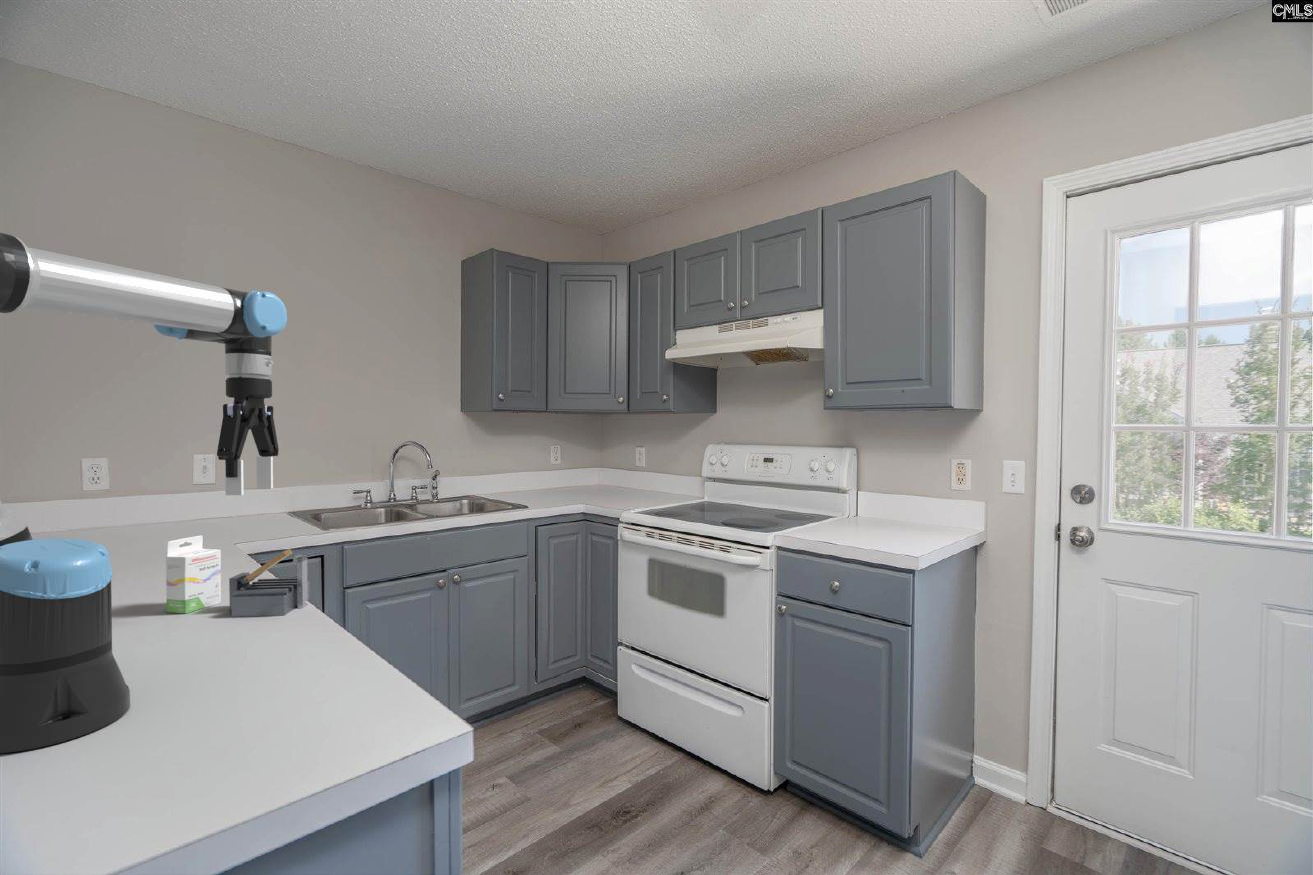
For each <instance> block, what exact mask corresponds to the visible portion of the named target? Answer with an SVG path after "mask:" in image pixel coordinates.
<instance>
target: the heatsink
mask: <svg viewBox="0 0 1313 875" xmlns="http://www.w3.org/2000/svg"><path fill="white" fill-rule="evenodd" d="M292 562H293V563H296V566H297V568H296V569H297V571H296V572H297V575H296V576H297V577H283V578H282V577H281V578H277V577H276V578H258V579H257V581H255V580H254V581H251V583H250V582H249V583H246V584H244V585H240V584H239V581H240V580H241V579H244V578H245V577H247V576H248V575H250V572H240V573H239V574H235V575H234V576H231V577H229V579H228V581H229V584H228V585H229V586H228V587H229V589H228V590H229V613H231V618H241V617H242V618H243V617H246V618H247V617H269V616H270V617H271V616H286V615H287V614H289V613H290V612H292V611H294V610H295V609H296V608H297V609H303V608H306V607H307V606H308V604H309V603H308V604H307V603H306V602H305V601H307V602H308V601H309V600H311V581H310V580H308V554H298V555H295V556H293V557H292Z"/></svg>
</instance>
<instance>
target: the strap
mask: <svg viewBox="0 0 1313 875" xmlns="http://www.w3.org/2000/svg"><path fill="white" fill-rule="evenodd" d="M291 554H293V551H292V549H291V548H288V549H286V550H284V551H282V552H280V553H279V554H278V555H275V557H273V558H272V559H270V560H269V561H267V562H266V563H265V564H263V565H261V566H260V567H258V568H257V569H255V570H254V571H253V572H251V573H249V575H248V576H247V577H245V578H244V579H241V580H240V581H239V584H240V585H244V584H246V583H249V582H251V583H252V582H254V581H255V579H256V578H258V577H259V576H261V575H262V574H264V573H266V572H267V571H268V570H270V569H271V568H272V567H274V566H276V565H277V564H278V563H280V562H281V561H282V560H284V559H286V558H287V557H288V556H290V555H291Z"/></svg>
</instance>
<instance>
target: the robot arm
mask: <svg viewBox="0 0 1313 875" xmlns="http://www.w3.org/2000/svg"><path fill="white" fill-rule="evenodd" d="M25 308H26V309H31V310H32V309H33V310H40V311H47V312H48V311H49V312H56V313H64V314H71V315H80V316H85V317H94V318H102V319H110V320H117V321H125V322H132V323H141V324H148V325H149V324H150V325H153V327H154V328H155V330H156V331H157V332H158V333H159V334H160V335H162V336H165V337H170V338H176V339H178V340H191V341H199V342H200V341H201V342H211V343H217V344H222V345H223V344H224V354H225V356H224V357H225V358H224V359H225V362H224V363H225V365H224V370H225V371H224V372H225V375H226V376H228V377H227V378H226V379H225V396H226V397H227V398H231V399H232V398H233V403H224V404H223V405H222V421H221V426H220V432H219V438H218V439H219V440H218V444H217V450H216V457H217V459H218V460H219V461H224V462H225V463H224V464H225V465H224V466H225V470H224V472H225V496H244V495H245V493H244V492H245V491H244V459H241V456H242V452H243V449H244V448H245V447H244V446H245V443H246V440H247V437H248V434H249V430H250V431H251V435H252V437H253V440H254V444H255V446H256V449H257V452H258V455H259V456H256V489H257V490H272V489H274V466H273V465H274V461H273V460H274V459H273V457H279V451H280V450H279V449H280V448H279V442H278V437H277V432H276V426H275V418H274V407H273V405H265V399H270V398H272V397H273V381H272V380H271V379H270V378H269V377H271V376H272V371H273V370H272V366H273V365H274V361H273V360H272V353H273V352H272V344H273V342H272V339H273V338H272V337H273V336H275V335H278V334H280V333H281V332H282V331H283V330H285V327H286V325H287V322H288V315H287V314H288V311H287V308H286V306H285V303H284V302H283V300H282V299H281V298H279V296H277V295H276V294H274V293H272V292H269V291H263V290H261V291H259V290H252V291H242V290H236V289H231V288H226V287H220V286H216V285H214V284H213V285H211V284H207V283H203V282H197V281H193V280H188V279H184V278H178V277H173V276H169V275H163V274H159V273H154V272H150V271H144V270H141V269H135V268H129V267H126V266H120V265H116V264H110V263H106V262H101V261H96V260H91V259H87V258H82V257H77V256H72V255H67V254H62V253H59V252H53V251H48V250H43V249H39V248H33V247H28V246H27V244H26V243H25V242H24V241H23V240H22V239H20V238H19V237H17V236H16V235H13V234H8V233H5V232H4V233H2V232H0V313H1V314H2V313H3V314H13V313H16V312H18V311H19V310H21V309H25ZM31 534H32V533H31V532H30V530H29V527H28V524H27V522H26V521H24V520H22V519H18V518H15V517H13V516H9V515H8V514H7V513H6V510H5V508H4V506H3V503H2V501H1V500H0V754H5V753H6V754H7V753H15V752H22V751H28V750H34V749H38V748H39V749H40V748H43V747H47V746H52V745H56V744H60V743H63V742H67V741H69V740H72V739H76V738H79V737H81V736H85V735H88V734H90V733H93V732H95V731H98V730H100V729H102V728H105V727H107V726H109V725H110V724H112V723H114V722H116V721H117V720H119V719H121V718H122V717H123V716H124V715H126V714H127V713H128V711H129V710H130V709H131V691H130V688H129V685H128V684H126V681H125V678H124V676H123V673H122V671H121V669H120V667H119V664H118V662H117V661H116V659H115V657H114V652H113V615H112V614H113V610H112V609H113V608H112V606H113V605H112V604H113V603H112V601H113V600H112V598H113V597H112V579H113V574H114V572H113V567H112V563H111V557H110V553H109V550H108V549H107V548H106V547H105V546H104V545H102V544H101V543H98V542H96V541H91V540H87V539H79V538H70V539H69V538H68V539H67V538H66V539H63V538H59V537H58V538H41V539H39V538H37V539H33V537H32V535H31Z"/></svg>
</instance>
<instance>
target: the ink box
mask: <svg viewBox="0 0 1313 875" xmlns="http://www.w3.org/2000/svg"><path fill="white" fill-rule="evenodd" d="M203 541H204V538H203V535H196V536H190V537H184V538H179V539H175V540H168V542H167V547H166V548H167V549H166V550H167V551H166V553H167V554H166V559H165V560H166V562H165V564H166V566H165V567H166V569H165V571H166V573H165V574H166V576H165V577H166V583H165V584H166V613H172V614H185V615H186V614H189V613H192V612H195V611H200V610H202V609H205V608H208V607H211V606H215V605H218V604H220V603H221V602H222V601H221V600H222V585H221V584H222V583H221V582H222V573H221V572H222V571H221V570H222V567H221V566H222V563H221V562H222V557H221V556H222V553H221V552H222V550H221V549H213V548H211V549H210V548H203V545H204V544H203V543H204V542H203ZM185 543H187V544H190V545H186V546H181V545H184V544H185ZM180 546H181V547H180Z"/></svg>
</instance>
